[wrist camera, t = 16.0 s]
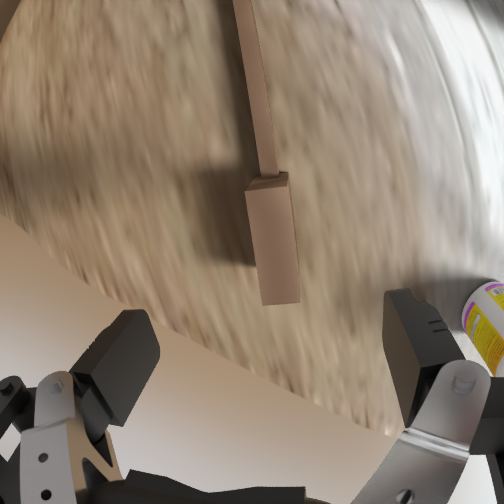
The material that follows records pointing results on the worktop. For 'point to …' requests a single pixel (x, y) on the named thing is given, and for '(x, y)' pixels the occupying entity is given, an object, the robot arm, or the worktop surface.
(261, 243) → the walnut push stick
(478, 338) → the supplement bottle
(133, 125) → the worktop surface
